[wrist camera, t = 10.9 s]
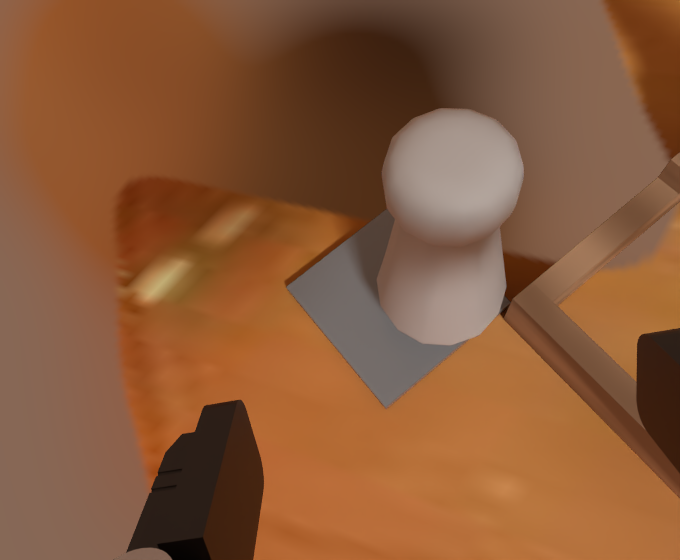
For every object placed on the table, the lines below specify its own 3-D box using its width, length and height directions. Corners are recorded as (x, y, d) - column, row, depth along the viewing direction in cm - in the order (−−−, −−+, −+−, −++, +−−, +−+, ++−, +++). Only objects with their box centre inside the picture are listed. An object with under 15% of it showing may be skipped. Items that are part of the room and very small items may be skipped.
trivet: (403, 200, 32) (403, 195, 31) (509, 305, 29) (511, 302, 29) (287, 290, 31) (285, 287, 30) (385, 409, 28) (385, 407, 27)
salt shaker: (518, 280, 29) (592, 119, 17) (464, 379, 28) (502, 280, 15) (414, 229, 31) (415, 49, 19) (358, 320, 29) (318, 188, 17)
